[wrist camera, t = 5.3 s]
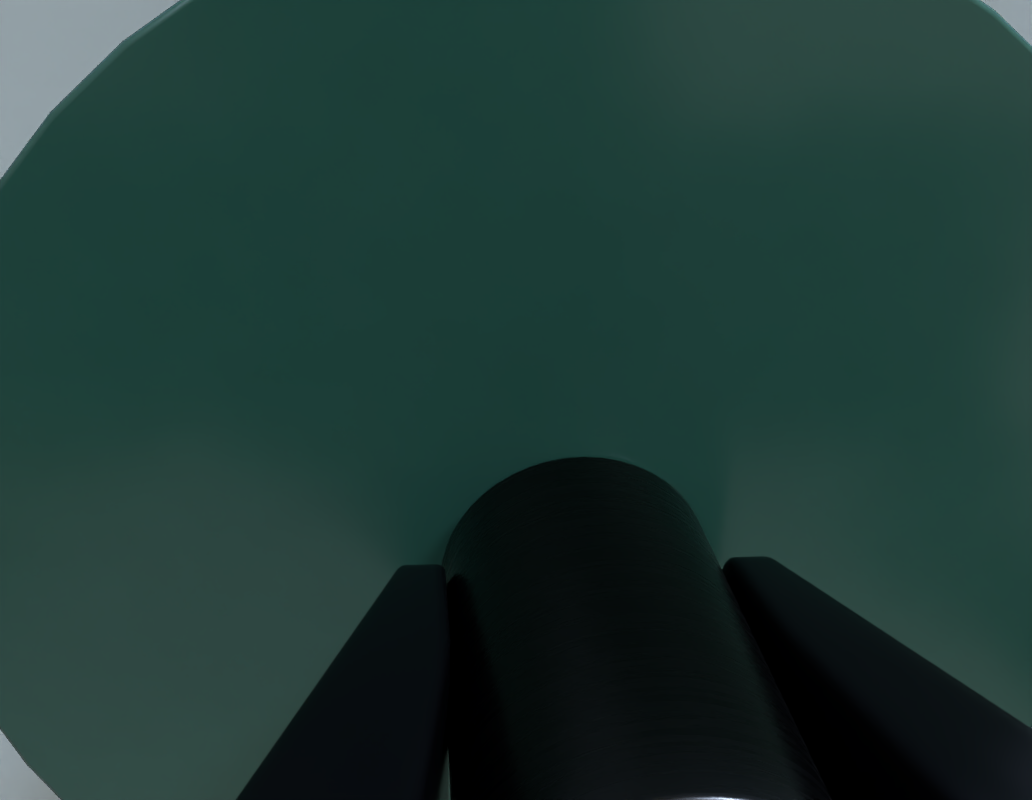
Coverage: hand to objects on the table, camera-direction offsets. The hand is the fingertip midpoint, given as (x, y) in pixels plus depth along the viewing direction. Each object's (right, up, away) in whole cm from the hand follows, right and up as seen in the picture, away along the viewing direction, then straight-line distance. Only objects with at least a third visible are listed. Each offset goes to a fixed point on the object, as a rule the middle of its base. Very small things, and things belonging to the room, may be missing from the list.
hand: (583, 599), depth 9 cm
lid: (0, 0, +1) cm, 1 cm away
